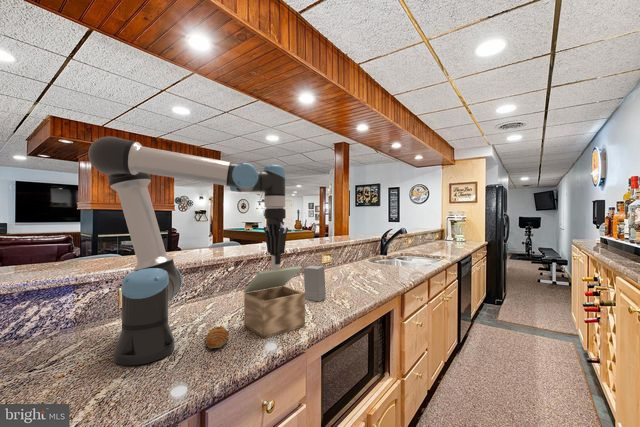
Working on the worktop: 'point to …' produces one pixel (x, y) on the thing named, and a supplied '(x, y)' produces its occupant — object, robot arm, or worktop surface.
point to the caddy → (274, 311)
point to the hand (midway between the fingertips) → (276, 273)
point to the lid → (272, 279)
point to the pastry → (216, 337)
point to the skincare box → (314, 283)
